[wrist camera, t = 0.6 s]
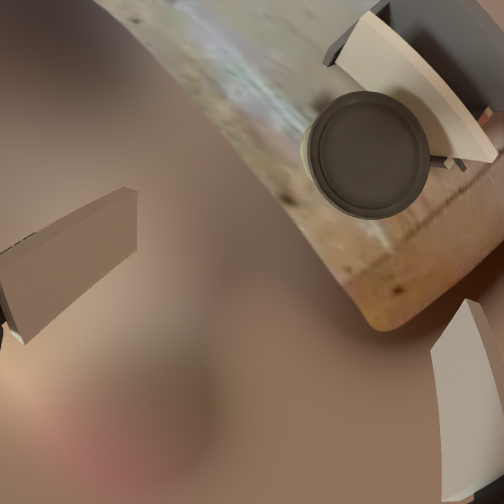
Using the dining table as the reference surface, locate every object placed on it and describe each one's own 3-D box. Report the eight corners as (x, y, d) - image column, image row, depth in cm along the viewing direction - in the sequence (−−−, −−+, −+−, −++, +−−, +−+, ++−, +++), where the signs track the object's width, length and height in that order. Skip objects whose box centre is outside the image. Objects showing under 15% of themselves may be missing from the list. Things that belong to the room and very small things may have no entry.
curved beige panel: (340, 56, 30) (369, 10, 17) (444, 162, 32) (510, 174, 19) (334, 62, 30) (360, 17, 17) (439, 168, 33) (504, 183, 20)
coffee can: (322, 96, 33) (343, 67, 20) (394, 139, 33) (448, 137, 20) (284, 169, 36) (283, 180, 23) (357, 209, 37) (393, 242, 24)
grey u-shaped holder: (381, 6, 27) (421, -48, 13) (476, 104, 30) (547, 96, 16) (322, 62, 31) (343, 14, 17) (426, 165, 34) (494, 179, 20)
